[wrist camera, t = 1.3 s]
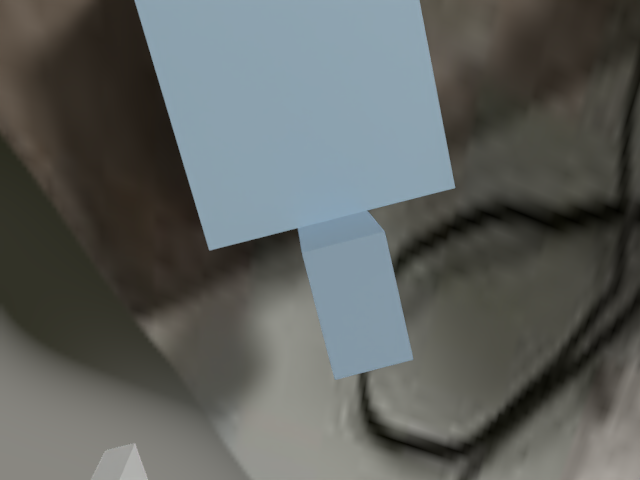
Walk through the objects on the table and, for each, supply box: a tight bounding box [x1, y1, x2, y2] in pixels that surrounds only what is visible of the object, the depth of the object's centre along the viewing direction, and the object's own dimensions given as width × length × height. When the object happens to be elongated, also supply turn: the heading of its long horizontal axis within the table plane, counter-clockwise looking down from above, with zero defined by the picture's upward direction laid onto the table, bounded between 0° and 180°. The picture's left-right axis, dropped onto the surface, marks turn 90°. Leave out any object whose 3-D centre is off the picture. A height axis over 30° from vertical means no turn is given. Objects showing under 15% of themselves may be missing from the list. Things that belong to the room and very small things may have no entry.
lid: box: [135, 0, 455, 380], centre depth 23 cm, size 20×11×6 cm, turn 14°
